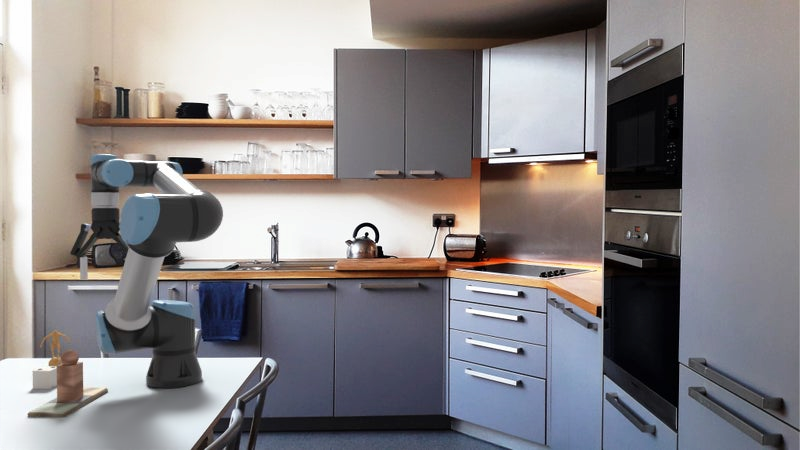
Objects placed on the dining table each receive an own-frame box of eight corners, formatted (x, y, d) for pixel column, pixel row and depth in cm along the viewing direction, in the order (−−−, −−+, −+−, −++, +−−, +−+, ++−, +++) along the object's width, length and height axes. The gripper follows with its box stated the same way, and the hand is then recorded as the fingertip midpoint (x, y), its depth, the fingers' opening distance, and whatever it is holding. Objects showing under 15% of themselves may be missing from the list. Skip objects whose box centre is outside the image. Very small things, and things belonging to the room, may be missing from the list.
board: (107, 391, 176) (107, 387, 176) (64, 417, 155) (64, 412, 155) (75, 391, 176) (75, 387, 176) (27, 416, 155) (27, 412, 155)
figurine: (40, 373, 195) (39, 333, 195) (40, 368, 201) (40, 330, 200) (71, 369, 199) (70, 331, 199) (70, 365, 205) (70, 327, 204)
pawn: (83, 396, 168) (82, 347, 167) (74, 401, 163) (73, 351, 163) (66, 396, 168) (65, 347, 167) (57, 401, 163) (56, 351, 163)
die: (60, 383, 184) (60, 366, 184) (50, 388, 179) (50, 370, 179) (43, 383, 184) (43, 365, 184) (32, 388, 179) (32, 370, 179)
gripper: (152, 207, 194) (153, 278, 194) (71, 207, 195) (72, 277, 195) (141, 207, 186) (142, 280, 187) (56, 207, 187) (58, 280, 188)
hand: (106, 279), depth 191 cm, fingers open, 13 cm apart
